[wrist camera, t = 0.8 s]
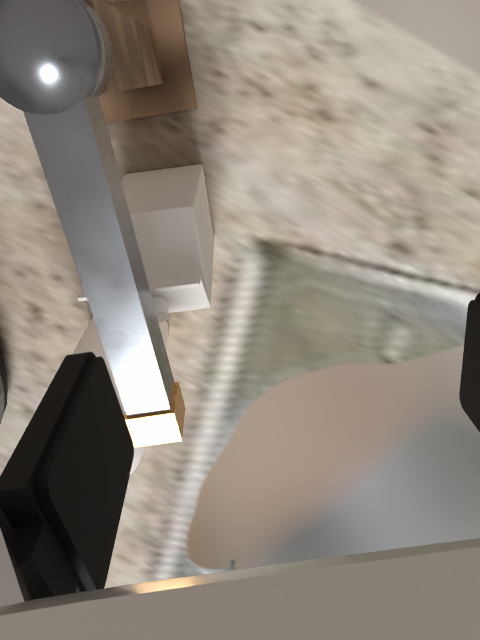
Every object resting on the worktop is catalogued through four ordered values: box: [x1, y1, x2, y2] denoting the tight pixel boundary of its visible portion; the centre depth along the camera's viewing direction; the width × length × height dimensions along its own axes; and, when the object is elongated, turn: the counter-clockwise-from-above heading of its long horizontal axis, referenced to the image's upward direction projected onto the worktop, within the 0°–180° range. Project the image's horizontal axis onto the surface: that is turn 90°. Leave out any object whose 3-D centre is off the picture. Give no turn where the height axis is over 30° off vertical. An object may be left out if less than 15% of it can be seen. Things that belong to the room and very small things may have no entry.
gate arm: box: [0, 0, 185, 447], centre depth 22 cm, size 21×4×3 cm, turn 8°
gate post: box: [85, 0, 197, 123], centre depth 28 cm, size 8×8×20 cm
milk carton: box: [77, 164, 214, 323], centre depth 35 cm, size 7×7×19 cm
